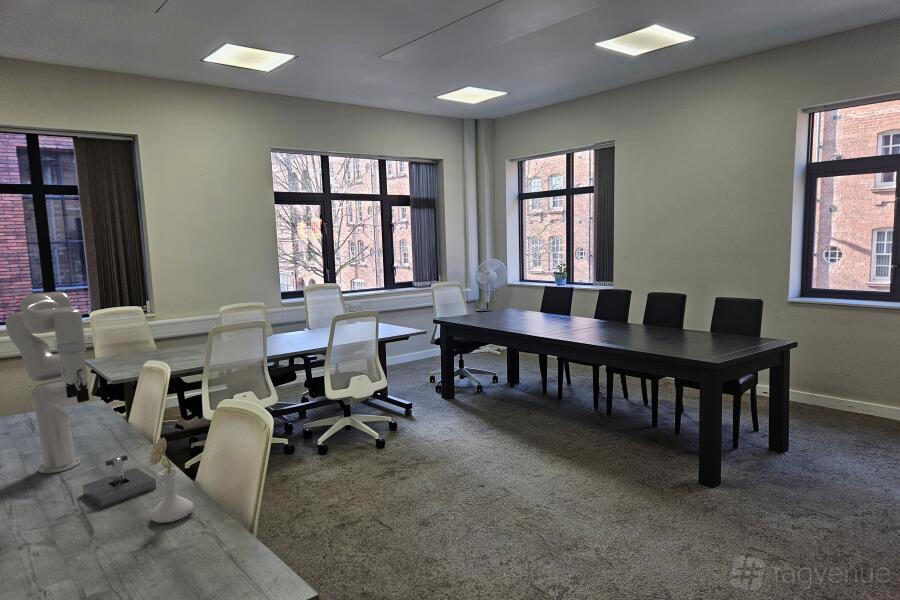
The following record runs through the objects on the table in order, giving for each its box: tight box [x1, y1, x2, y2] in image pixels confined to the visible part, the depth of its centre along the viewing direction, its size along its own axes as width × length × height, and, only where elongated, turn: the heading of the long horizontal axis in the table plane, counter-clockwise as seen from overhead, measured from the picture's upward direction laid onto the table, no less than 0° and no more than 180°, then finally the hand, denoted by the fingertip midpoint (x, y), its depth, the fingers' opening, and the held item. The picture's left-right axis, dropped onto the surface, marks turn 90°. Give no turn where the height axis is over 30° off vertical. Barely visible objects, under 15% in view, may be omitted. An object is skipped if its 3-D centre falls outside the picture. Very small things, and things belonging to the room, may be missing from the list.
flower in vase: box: [148, 437, 195, 524], centre depth 158 cm, size 13×11×25 cm
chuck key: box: [104, 454, 129, 487], centre depth 178 cm, size 3×6×11 cm, turn 141°
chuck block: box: [82, 467, 157, 509], centre depth 178 cm, size 16×16×3 cm
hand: (78, 399), depth 178 cm, fingers open, 9 cm apart
